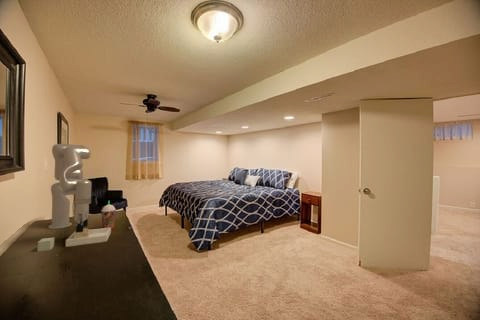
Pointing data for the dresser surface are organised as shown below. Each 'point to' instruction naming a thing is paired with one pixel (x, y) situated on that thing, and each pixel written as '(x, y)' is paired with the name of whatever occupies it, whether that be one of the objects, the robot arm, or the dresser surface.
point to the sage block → (46, 244)
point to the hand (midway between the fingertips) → (81, 229)
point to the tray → (89, 237)
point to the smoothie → (108, 216)
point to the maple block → (82, 234)
